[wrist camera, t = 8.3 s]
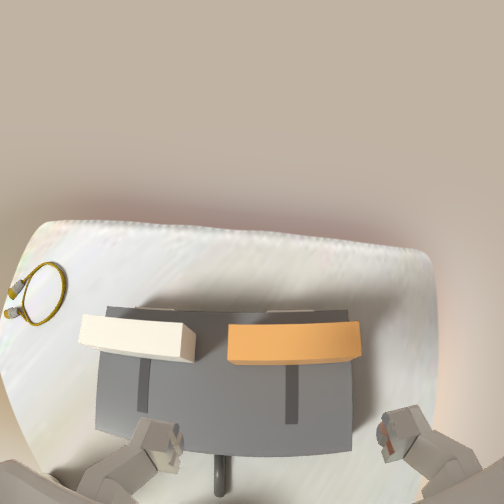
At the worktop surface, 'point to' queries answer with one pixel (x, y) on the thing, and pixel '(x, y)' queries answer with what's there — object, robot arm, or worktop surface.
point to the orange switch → (294, 343)
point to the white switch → (139, 338)
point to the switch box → (229, 392)
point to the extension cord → (17, 288)
